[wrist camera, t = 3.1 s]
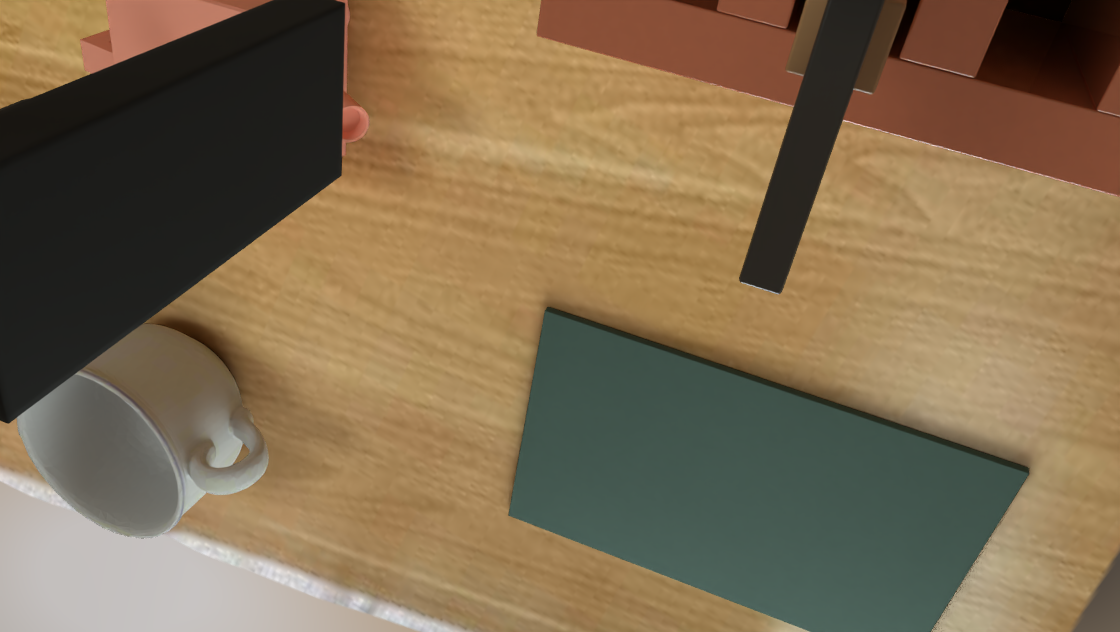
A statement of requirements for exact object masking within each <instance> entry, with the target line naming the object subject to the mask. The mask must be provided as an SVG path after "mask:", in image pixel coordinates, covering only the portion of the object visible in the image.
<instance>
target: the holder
mask: <svg viewBox="0 0 1120 632" xmlns="http://www.w3.org/2000/svg"><path fill="white" fill-rule="evenodd" d="M1008 1H1009V0H907V3H906V9H905V11H904V14H903V17H902V20H901V22H900V25H899V28H898V30H897V33H896V36H895V39H894V41H893V44H892V47H891V49H890V52H889V55H888V58H887V60H886V63H885V66H884V68H883V71H882V74H881V77H880V79H879V82H878V85H877V87H876V90H875V92H874V93H873V94H867V93H864V92H860V91H856V90H853V93H852V95H851V98H850V101H849V104H848V107H847V110H846V112H845V115H844V118H843V121H846V122H850V123H853V124H857V125H861V126H864V127H868V128H871V129H875V130H879V131H882V132H886V133H890V134H893V135H897V136H900V137H904V138H908V139H911V140H915V141H918V142H922V143H926V144H929V145H933V146H937V147H940V148H944V149H947V150H951V151H955V152H958V153H962V154H966V155H969V156H973V157H976V158H980V159H984V160H987V161H991V162H994V163H998V164H1002V165H1005V166H1009V167H1013V168H1016V169H1020V170H1023V171H1027V172H1031V173H1034V174H1038V175H1042V176H1045V177H1049V178H1052V179H1056V180H1060V181H1063V182H1067V183H1070V184H1074V185H1078V186H1081V187H1085V188H1089V189H1092V190H1096V191H1099V192H1103V193H1107V194H1110V195H1114V196H1118V197H1120V0H1072V1H1071V3H1070V5H1069V7H1068V9H1067V12H1066V14H1065V16H1064V18H1063V20H1062V22H1059V21H1055V20H1051V19H1046V18H1042V17H1038V16H1034V15H1030V14H1026V13H1022V12H1018V11H1014V10H1010V9H1006V6H1007V3H1008ZM805 2H806V0H541V7H540V14H539V21H538V28H537V36H538V37H542V38H546V39H549V40H553V41H557V42H560V43H564V44H567V45H571V46H575V47H578V48H582V49H585V50H589V51H593V52H596V53H600V54H604V55H607V56H611V57H614V58H618V59H622V60H625V61H629V62H633V63H636V64H640V65H643V66H647V67H651V68H654V69H658V70H661V71H665V72H669V73H672V74H676V75H680V76H683V77H687V78H690V79H694V80H698V81H701V82H705V83H709V84H712V85H716V86H719V87H723V88H727V89H730V90H734V91H737V92H741V93H745V94H748V95H752V96H756V97H759V98H763V99H766V100H770V101H774V102H777V103H781V104H785V105H788V106H792V107H794V104H795V101H796V98H797V95H798V92H799V89H800V85H801V82H802V79H803V76H800V75H797V74H793V73H789V72H787V71H786V69H785V68H786V64H787V61H788V58H789V54H790V51H791V48H792V45H793V41H794V38H795V35H796V31H797V28H798V25H799V22H800V18H801V15H802V12H803V9H804V5H805Z"/></svg>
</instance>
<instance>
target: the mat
mask: <svg viewBox="0 0 1120 632" xmlns="http://www.w3.org/2000/svg"><path fill="white" fill-rule="evenodd" d="M1028 475H1029V468H1027V467H1024V466H1021V465H1018V464H1015V463H1012V462H1009V461H1006V460H1003V459H1001V458H998V457H995V456H992V455H989V454H986V453H983V452H980V451H977V450H974V449H971V448H968V447H965V446H962V445H959V444H956V443H953V442H950V441H947V440H944V439H941V438H938V437H935V436H932V435H929V434H926V433H923V432H920V431H917V430H914V429H911V428H908V427H905V426H902V425H899V424H896V423H893V422H890V421H887V420H884V419H881V418H878V417H875V416H872V415H869V414H866V413H863V412H860V411H857V410H854V409H851V408H848V407H845V406H842V405H840V404H837V403H834V402H831V401H828V400H825V399H822V398H819V397H816V396H813V395H810V394H807V393H804V392H801V391H798V390H795V389H792V388H789V387H786V386H783V385H780V384H777V383H774V382H771V381H768V380H765V379H762V378H759V377H756V376H753V375H750V374H747V373H744V372H741V371H738V370H735V369H732V368H729V367H726V366H723V365H720V364H717V363H714V362H711V361H708V360H705V359H702V358H699V357H696V356H693V355H690V354H687V353H684V352H681V351H679V350H676V349H673V348H670V347H667V346H664V345H661V344H658V343H655V342H652V341H649V340H646V339H643V338H640V337H637V336H634V335H631V334H628V333H625V332H622V331H619V330H616V329H613V328H610V327H607V326H604V325H601V324H598V323H595V322H592V321H589V320H586V319H583V318H580V317H577V316H574V315H571V314H568V313H565V312H562V311H559V310H556V309H553V308H550V307H547V309H546V310H545V313H544V319H543V325H542V330H541V336H540V341H539V347H538V353H537V358H536V364H535V369H534V375H533V381H532V386H531V392H530V397H529V403H528V409H527V414H526V420H525V425H524V431H523V437H522V442H521V448H520V453H519V459H518V464H517V470H516V476H515V481H514V487H513V492H512V498H511V504H510V509H509V516H511V517H514V518H516V519H519V520H522V521H524V522H527V523H529V524H532V525H535V526H537V527H540V528H542V529H545V530H548V531H550V532H553V533H555V534H558V535H561V536H563V537H566V538H568V539H571V540H574V541H576V542H579V543H581V544H584V545H587V546H589V547H592V548H594V549H597V550H600V551H602V552H605V553H607V554H610V555H613V556H615V557H618V558H620V559H623V560H626V561H628V562H631V563H633V564H636V565H639V566H641V567H644V568H646V569H649V570H652V571H654V572H657V573H659V574H662V575H665V576H667V577H670V578H672V579H675V580H678V581H680V582H683V583H685V584H688V585H691V586H693V587H696V588H698V589H701V590H704V591H706V592H709V593H711V594H714V595H716V596H719V597H722V598H724V599H727V600H729V601H732V602H735V603H737V604H740V605H742V606H745V607H748V608H750V609H753V610H755V611H758V612H761V613H763V614H766V615H768V616H771V617H774V618H776V619H779V620H781V621H784V622H787V623H789V624H792V625H794V626H797V627H800V628H802V629H805V630H807V631H810V632H931V630H932V629H933V627H934V625H935V624H936V622H937V621H938V619H939V617H940V616H941V614H942V613H943V611H944V609H945V608H946V606H947V605H948V603H949V601H950V600H951V598H952V597H953V595H954V593H955V592H956V590H957V589H958V587H959V585H960V584H961V582H962V581H963V579H964V577H965V576H966V574H967V573H968V571H969V569H970V568H971V566H972V565H973V563H974V561H975V560H976V558H977V557H978V555H979V553H980V552H981V550H982V549H983V547H984V545H985V544H986V542H987V541H988V539H989V537H990V536H991V534H992V533H993V531H994V529H995V528H996V526H997V524H998V523H999V521H1000V520H1001V518H1002V516H1003V515H1004V513H1005V512H1006V510H1007V508H1008V507H1009V505H1010V504H1011V502H1012V500H1013V499H1014V497H1015V496H1016V494H1017V492H1018V491H1019V489H1020V488H1021V486H1022V484H1023V483H1024V481H1025V480H1026V478H1027V476H1028Z"/></svg>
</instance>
